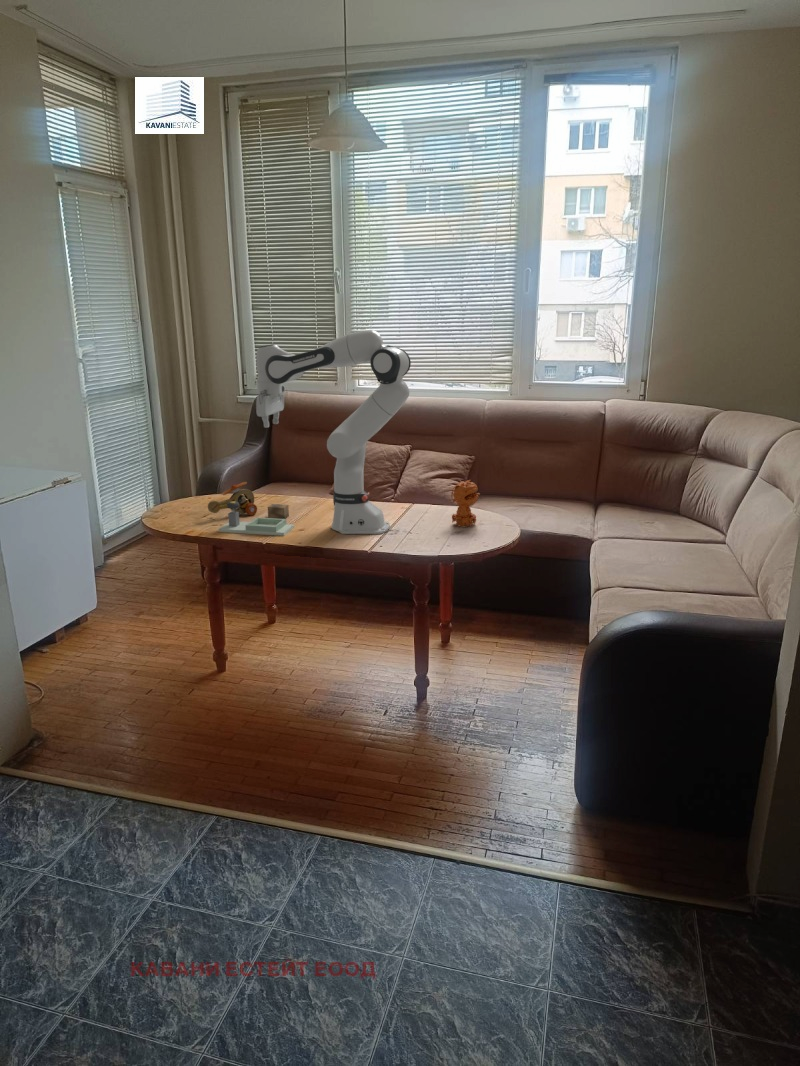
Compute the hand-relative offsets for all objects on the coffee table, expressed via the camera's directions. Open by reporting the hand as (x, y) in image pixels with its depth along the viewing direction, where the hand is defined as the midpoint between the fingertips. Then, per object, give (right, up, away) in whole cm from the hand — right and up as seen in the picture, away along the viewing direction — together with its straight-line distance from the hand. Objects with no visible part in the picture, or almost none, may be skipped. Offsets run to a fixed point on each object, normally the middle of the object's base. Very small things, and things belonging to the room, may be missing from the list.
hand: (271, 425), depth 274 cm
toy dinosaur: (+75, -38, +4) cm, 84 cm away
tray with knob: (-5, -40, -2) cm, 40 cm away
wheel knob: (-14, -35, -2) cm, 37 cm away
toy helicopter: (-18, -35, +16) cm, 42 cm away
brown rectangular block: (0, -35, +15) cm, 38 cm away
